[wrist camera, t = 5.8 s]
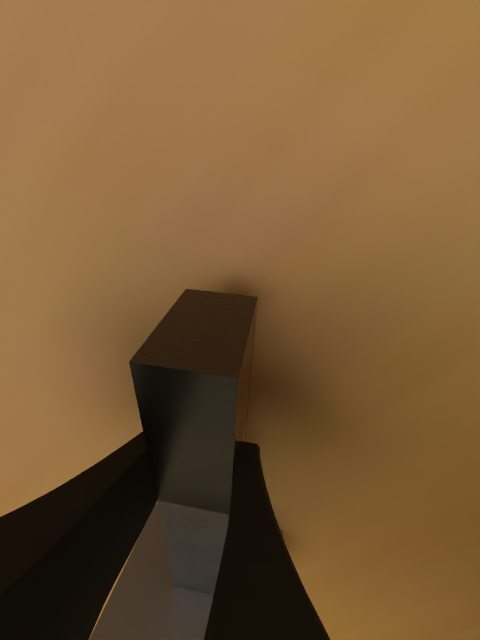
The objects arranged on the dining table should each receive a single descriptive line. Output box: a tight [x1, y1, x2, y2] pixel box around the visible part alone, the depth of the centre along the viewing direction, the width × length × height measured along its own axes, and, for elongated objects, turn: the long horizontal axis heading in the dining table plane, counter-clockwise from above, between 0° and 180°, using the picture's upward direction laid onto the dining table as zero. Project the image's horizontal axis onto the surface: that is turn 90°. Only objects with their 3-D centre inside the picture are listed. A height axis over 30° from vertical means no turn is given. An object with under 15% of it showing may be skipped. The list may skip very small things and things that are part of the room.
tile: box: [89, 505, 283, 640], centre depth 14 cm, size 8×2×8 cm, turn 85°
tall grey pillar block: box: [129, 289, 258, 595], centre depth 12 cm, size 14×2×4 cm, turn 175°
